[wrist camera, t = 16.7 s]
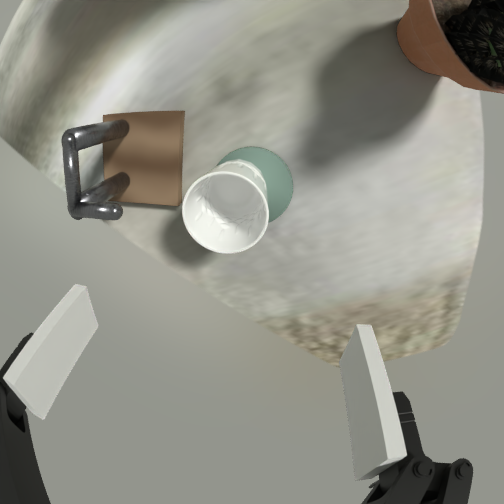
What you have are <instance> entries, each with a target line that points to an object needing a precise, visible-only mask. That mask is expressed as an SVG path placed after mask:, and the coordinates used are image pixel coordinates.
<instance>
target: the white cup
mask: <svg viewBox="0 0 504 504" xmlns="http://www.w3.org/2000/svg"><path fill="white" fill-rule="evenodd" d="M182 216H183V221H184V224H185V227H186V229H187V231H188V232H189V234H190V235H191V236H192V238H193V239H194V240H195V241H196V242H197V243H199V244H200V245H201V246H203V247H205V248H206V249H209V250H211V251H214V252H218V253H224V254H232V253H238V252H242V251H244V250H247V249H249V248H250V247H252V246H253V245H255V244H256V243H257V242H258V241H259V240H260V239H261V237H262V236H263V234H264V233H265V230H266V228H267V225H268V220H269V208H268V194H267V187H266V182H265V179H264V177H263V175H262V172H261V170H260V169H258V168H257V167H256V166H255V165H254V164H253V163H251V162H248V161H245V160H241V159H236V160H230V161H226V162H224V163H223V164H220V165H218V166H217V167H215V168H213V169H212V170H210V171H209V172H208V173H206V174H205V175H203V176H202V177H201V178H199V179H198V180H196V181H195V182H194V183H193V184H192V185H191V186H190V188H189V189H188V191H187V192H186V194H185V197H184V200H183V204H182Z"/></svg>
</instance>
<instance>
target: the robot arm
mask: <svg viewBox="0 0 504 504" xmlns="http://www.w3.org/2000/svg"><path fill="white" fill-rule="evenodd" d="M97 328H98V323H97V320H96V317H95V314H94V311H93V307H92V304H91V301H90V298H89V294H88V290H87V287H86V286H82V285H77V284H75V285H74V286H73V287H72V288H71V289H70V291H69V292H68V293H67V294H66V295H65V296H64V298H63V299H62V300H61V301H60V302H59V303H58V305H57V306H56V307H55V308H54V309H53V311H52V312H51V313H50V314H49V315H48V317H47V318H46V319H45V320H44V322H43V323H42V324H41V326H40V327H39V328H38V329H37V331H36V332H35V333H34V334H33V333H30V334H29V335H27V336H26V337H24V338H23V339H22V341H21V342H20V343H19V345H18V347H17V348H16V349H15V350H14V352H13V353H12V354H11V356H10V357H9V358H8V360H7V361H6V363H5V364H4V366H3V367H2V369H1V370H0V504H51V503H50V501H49V498H48V495H47V493H46V489H45V487H44V484H43V481H42V477H41V474H40V471H39V467H38V464H37V460H36V456H35V452H34V448H33V443H32V439H31V434H30V429H29V423H28V417H27V413H26V411H25V409H26V407H27V408H28V409H29V410H30V411H31V412H32V413H33V414H34V415H36V416H38V417H39V418H41V419H43V420H44V419H45V417H46V415H47V413H48V411H49V409H50V407H51V405H52V404H53V402H54V400H55V398H56V396H57V394H58V393H59V391H60V389H61V387H62V385H63V384H64V382H65V380H66V378H67V377H68V375H69V373H70V371H71V370H72V368H73V366H74V364H75V363H76V361H77V360H78V358H79V356H80V355H81V353H82V351H83V350H84V348H85V347H86V345H87V343H88V342H89V340H90V339H91V337H92V336H93V334H94V332H95V331H96V329H97ZM339 365H340V370H341V376H342V382H343V388H344V395H345V401H346V408H347V415H348V422H349V430H350V437H351V446H352V455H353V465H354V476H355V481H358V480H365V479H371V478H373V477H375V476H377V475H378V474H379V480H378V481H376V482H374V483H373V484H372V485H370V486H369V488H372V487H373V489H372V490H371V492H370V493H369V494H368V496H367V497H366V498H365V500H364V501H363V502H362V504H467V503H468V499H469V493H470V488H471V483H472V477H473V467H472V464H471V463H470V462H469V461H468V460H467V459H464V458H463V459H458V460H457V461H455V462H453V463H452V464H451V463H436V462H432V460H431V459H430V458H429V457H427V456H425V454H424V452H423V450H422V446H421V441H420V437H419V434H418V430H417V426H416V422H415V421H414V420H415V418H414V415H413V413H412V408H411V405H410V401H409V399H408V398H407V397H406V395H405V394H404V393H403V392H392V390H391V387H390V383H389V379H388V376H387V373H386V369H385V366H384V363H383V360H382V356H381V353H380V350H379V347H378V344H377V341H376V338H375V335H374V332H373V329H372V326H371V325H361V324H356V327H355V329H354V331H353V333H352V336H351V338H350V340H349V342H348V344H347V346H346V349H345V351H344V353H343V355H342V357H341V359H340V361H339Z"/></svg>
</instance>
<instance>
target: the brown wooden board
mask: <svg viewBox="0 0 504 504" xmlns="http://www.w3.org/2000/svg"><path fill="white" fill-rule="evenodd" d="M184 115H185V111H150V112H132V113H119V114H108V115H103V122H108V121H115V120H121V119H123V120H126V121H127V122H128V123H129V127H130V129H129V133H128V134H127V135H126V136H125V137H122V138H119V139H115V140H111V141H108V142H104V143H103V162H104V180H106V179H108V178H109V177H111V176H113V175H115V174H117V173H119V172H125V173H127V174H128V176H129V178H130V185H129V187H128V188H126V189H125V190H123V191H122V192H120V193H118V194H117V195H115V196H114V197H112V198H111V199H109V200H108V201H118V202H133V203H147V204H160V205H172V206H179V205H180V204H181V203H182V158H183V133H184Z"/></svg>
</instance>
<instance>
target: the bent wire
mask: <svg viewBox="0 0 504 504" xmlns="http://www.w3.org/2000/svg"><path fill="white" fill-rule="evenodd" d="M129 129H130V127H129V123H128V122H127V121H126V120H123V119H121V120H115V121H108V122H102V123H97V124H91V125H86V126H81V127H76V128H72V129H68V130H66V131H65V132H64V134H63V136H62V147H63V162H64V174H65V184H66V193H67V201H68V211H69V213H70V215H71V216H72V217H73V218H74V219H76V220H80V219H82V218H95V219H106V220H118V219H120V218H121V216H122V214H123V209H122V207H121V206H120V205H119V204H117V203H105V202H106V201H108V200H109V199H111V198H112V197H114V196H115V195H117V194H118V193H120V192H122V191H123V190H125V189H126V188H128V187H129V185H130V178H129V176H128V174H127V173H125V172H119V173H117V174H115V175H113V176H111V177H109V178H108V179H106V180H104V181H102V182H100V183H98V184H96V185H94V186H93V187H91V188H89V189H87V190H85V191H84V192H82V193H81V185H80V174H79V159H78V151H79V150H82V149H85V148H88V147H91V146H94V145H98V144H101V143H104V142H108V141H111V140H115V139H119V138H122V137H125V136H126V135H127V134H128V133H129Z"/></svg>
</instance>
